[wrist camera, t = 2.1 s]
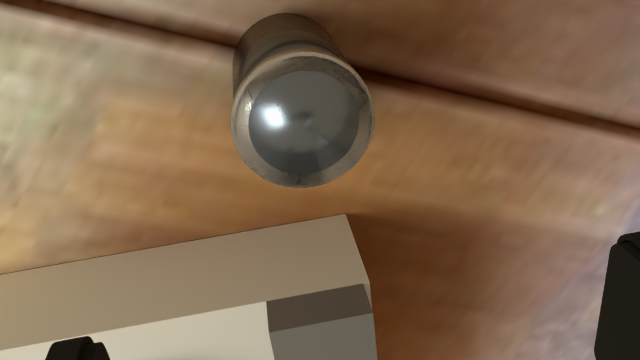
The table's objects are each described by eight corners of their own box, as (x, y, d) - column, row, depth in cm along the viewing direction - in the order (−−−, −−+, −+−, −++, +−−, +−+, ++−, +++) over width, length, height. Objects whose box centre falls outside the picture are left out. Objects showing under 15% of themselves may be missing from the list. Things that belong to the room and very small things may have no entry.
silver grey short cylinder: (335, 3, 25) (369, 42, 19) (346, 110, 28) (379, 175, 22) (220, 20, 25) (217, 66, 19) (241, 127, 27) (245, 199, 21)
